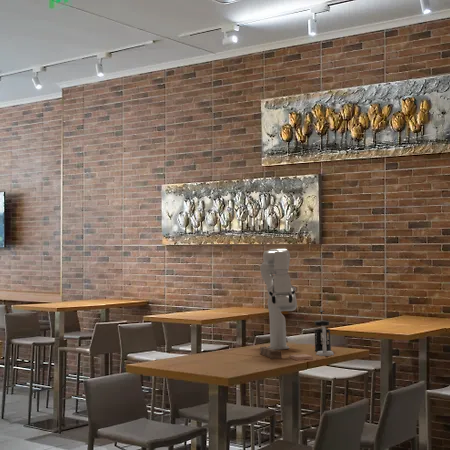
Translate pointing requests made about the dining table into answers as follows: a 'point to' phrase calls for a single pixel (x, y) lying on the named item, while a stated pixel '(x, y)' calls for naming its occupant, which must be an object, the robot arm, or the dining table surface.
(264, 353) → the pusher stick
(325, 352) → the black and grey stand
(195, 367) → the dining table surface
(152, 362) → the dining table surface
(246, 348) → the dining table surface
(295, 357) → the tile
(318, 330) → the french press
